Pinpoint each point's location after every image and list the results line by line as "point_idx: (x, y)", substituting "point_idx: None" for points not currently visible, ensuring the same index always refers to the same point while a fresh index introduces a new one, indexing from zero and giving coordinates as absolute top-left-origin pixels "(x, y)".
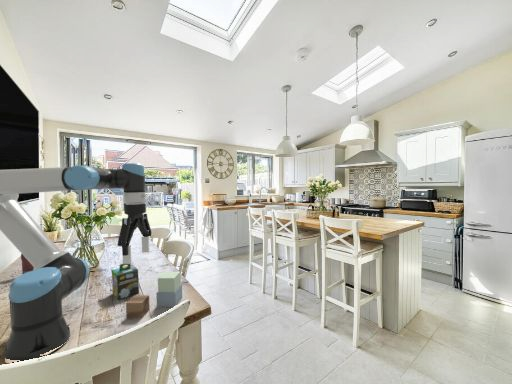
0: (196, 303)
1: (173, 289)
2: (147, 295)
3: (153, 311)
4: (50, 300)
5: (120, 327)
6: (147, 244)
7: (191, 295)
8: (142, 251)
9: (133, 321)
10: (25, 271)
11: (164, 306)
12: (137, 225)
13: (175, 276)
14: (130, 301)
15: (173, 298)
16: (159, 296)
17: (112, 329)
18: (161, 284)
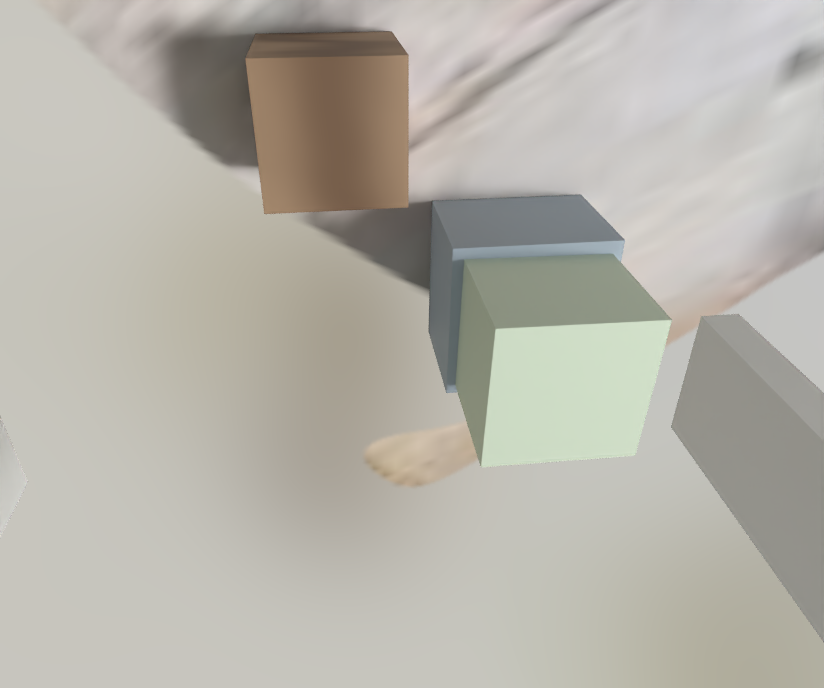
0: (463, 433)
1: (460, 391)
2: (405, 193)
3: None
4: None
5: (129, 62)
6: (766, 542)
7: None
8: (708, 337)
9: (220, 123)
10: None
11: (431, 258)
12: None
13: (519, 461)
14: (282, 87)
15: (439, 352)
16: (445, 260)
17: (90, 7)
18: (478, 325)
